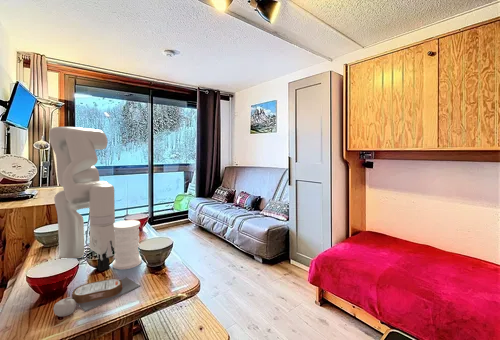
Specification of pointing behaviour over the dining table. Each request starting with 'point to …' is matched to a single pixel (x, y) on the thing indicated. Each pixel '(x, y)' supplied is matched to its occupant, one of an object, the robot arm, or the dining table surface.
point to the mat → (127, 287)
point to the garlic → (64, 307)
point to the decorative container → (126, 244)
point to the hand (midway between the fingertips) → (103, 268)
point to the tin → (97, 290)
